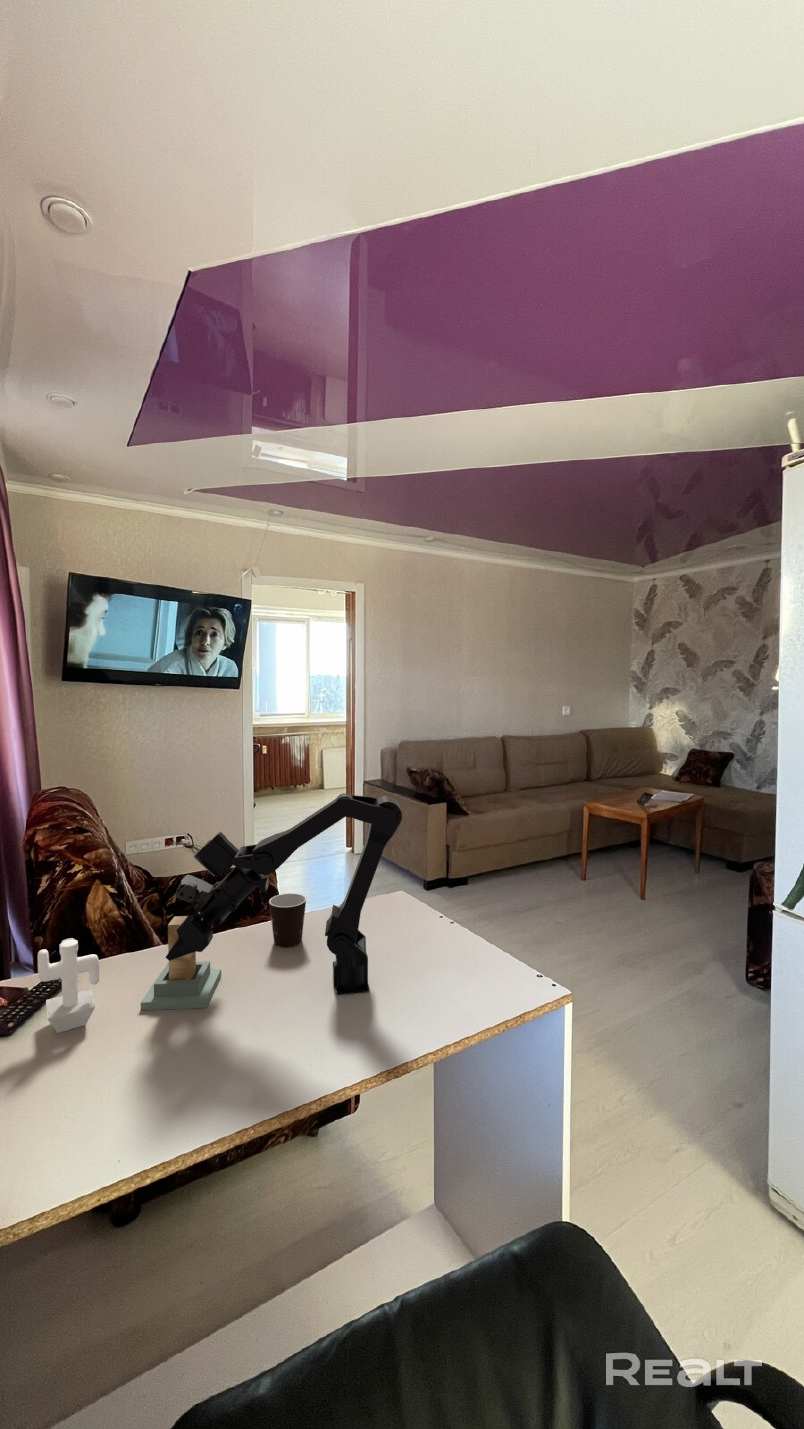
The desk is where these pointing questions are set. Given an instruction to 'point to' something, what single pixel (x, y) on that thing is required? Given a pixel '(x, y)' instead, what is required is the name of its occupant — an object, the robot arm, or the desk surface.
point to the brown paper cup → (287, 919)
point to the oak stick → (185, 964)
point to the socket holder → (182, 990)
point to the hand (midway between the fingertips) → (175, 947)
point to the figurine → (69, 986)
